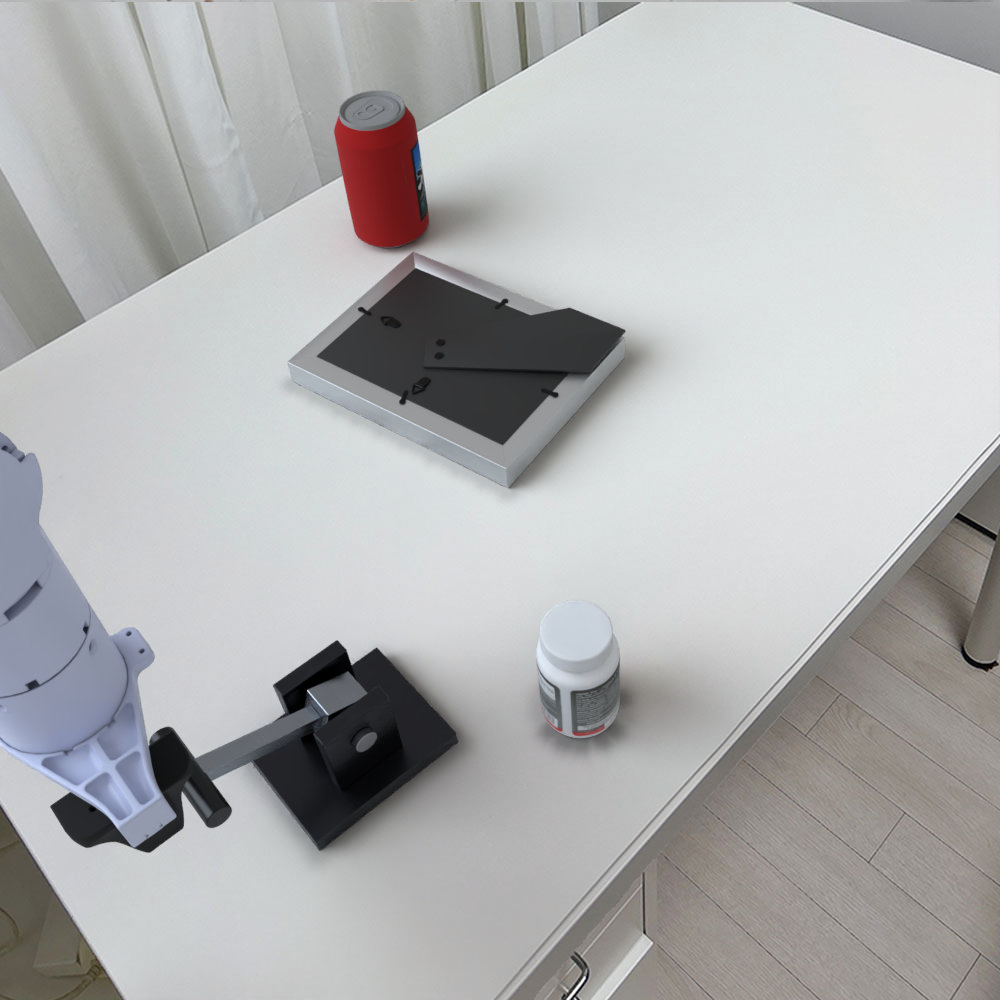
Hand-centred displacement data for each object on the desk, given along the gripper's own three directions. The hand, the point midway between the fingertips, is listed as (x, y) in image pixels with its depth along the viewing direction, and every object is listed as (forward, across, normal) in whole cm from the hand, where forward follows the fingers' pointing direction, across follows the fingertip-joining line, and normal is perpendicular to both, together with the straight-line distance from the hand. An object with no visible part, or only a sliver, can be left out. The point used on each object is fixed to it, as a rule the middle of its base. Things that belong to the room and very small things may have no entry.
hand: (130, 787), depth 54 cm
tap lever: (+5, 0, -7) cm, 8 cm away
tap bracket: (+10, 0, -11) cm, 15 cm away
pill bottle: (+11, -7, -23) cm, 26 cm away
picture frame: (+11, +21, -36) cm, 43 cm away
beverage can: (+11, +39, -43) cm, 59 cm away
